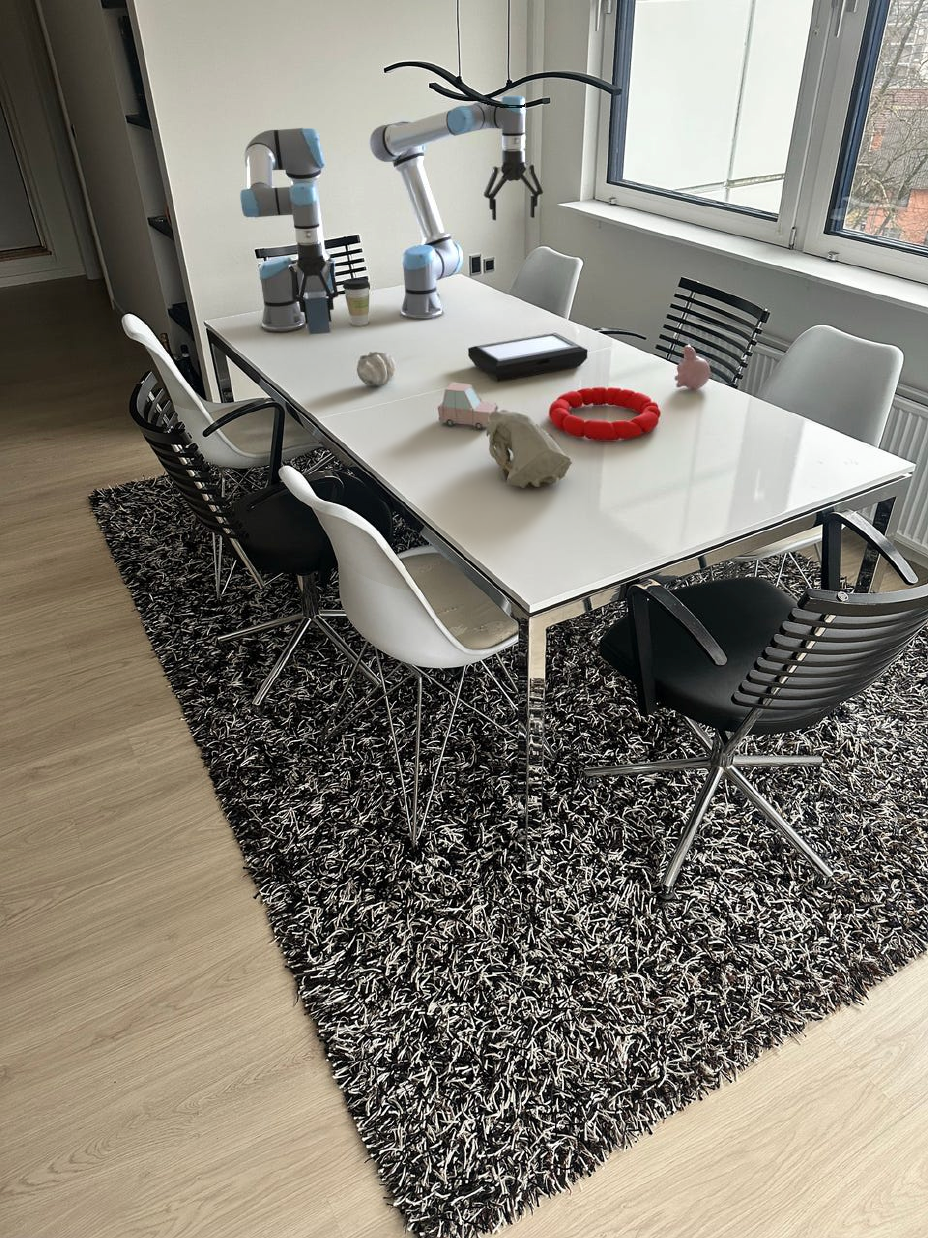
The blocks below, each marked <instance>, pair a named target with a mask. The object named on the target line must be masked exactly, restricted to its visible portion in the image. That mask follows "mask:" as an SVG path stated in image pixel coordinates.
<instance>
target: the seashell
mask: <svg viewBox="0 0 928 1238" xmlns="http://www.w3.org/2000/svg"><path fill="white" fill-rule="evenodd" d="M356 373H357V376H358V378H359V380H360V381H361V382H362V383H363V384H365V385H367V386H375V385H376V386H384V385H387V384H388V383H389V382H390V381H391V379H392V378H393V377H394V375H395V374H396V363H395V360H394V358H393V356H391V355H388V354H387V353H386V352H385V353H383V352H376V351H373V352H371V351H370V352H369V354H368V355H367V354H363V355H360V357H359V360H358V361H357V366H356Z"/></svg>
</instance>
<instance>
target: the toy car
mask: <svg viewBox="0 0 928 1238" xmlns="http://www.w3.org/2000/svg"><path fill="white" fill-rule="evenodd" d="M498 409H499V404H498V403H497V402H490V401H489V402H487V401H483V397H481V396H480V395H479V394H478V393H477V391H476V390H475V389H474V386H472V384H469V383H459V382H451V383H450V384H449V385H448V386H447V387H446V388H445V389H444V394H443V399H442V403H440V404H439V405H438V406H437V413H438V421H439V422H443V423H446V425H447V426H448V427H452V426H454V425H455V424H461V425H469V426H473V427H475V429H476V430H479V431H480V430H481V429H483V428H485V427H486V428H487V423H488V422H490V414H491V413H492V412H496V411H499V410H498Z"/></svg>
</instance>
